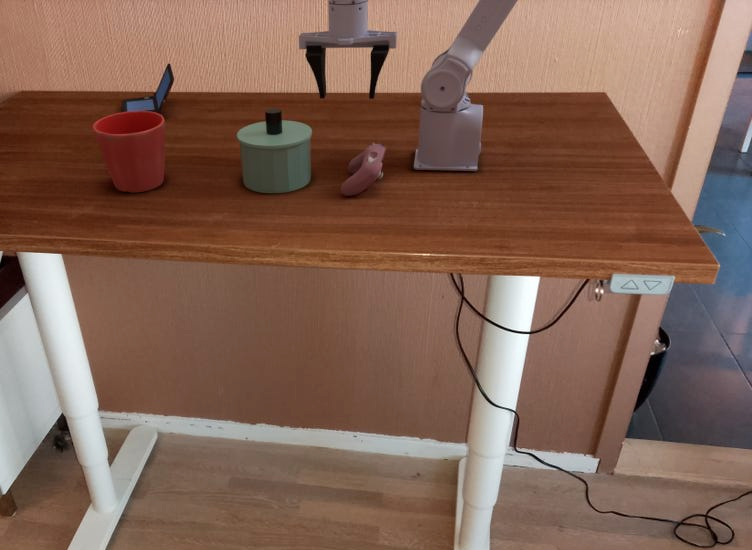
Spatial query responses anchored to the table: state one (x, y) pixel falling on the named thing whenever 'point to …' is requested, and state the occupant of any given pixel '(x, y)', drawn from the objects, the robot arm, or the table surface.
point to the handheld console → (155, 101)
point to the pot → (276, 168)
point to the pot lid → (274, 132)
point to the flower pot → (133, 149)
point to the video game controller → (364, 170)
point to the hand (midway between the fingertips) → (347, 96)
